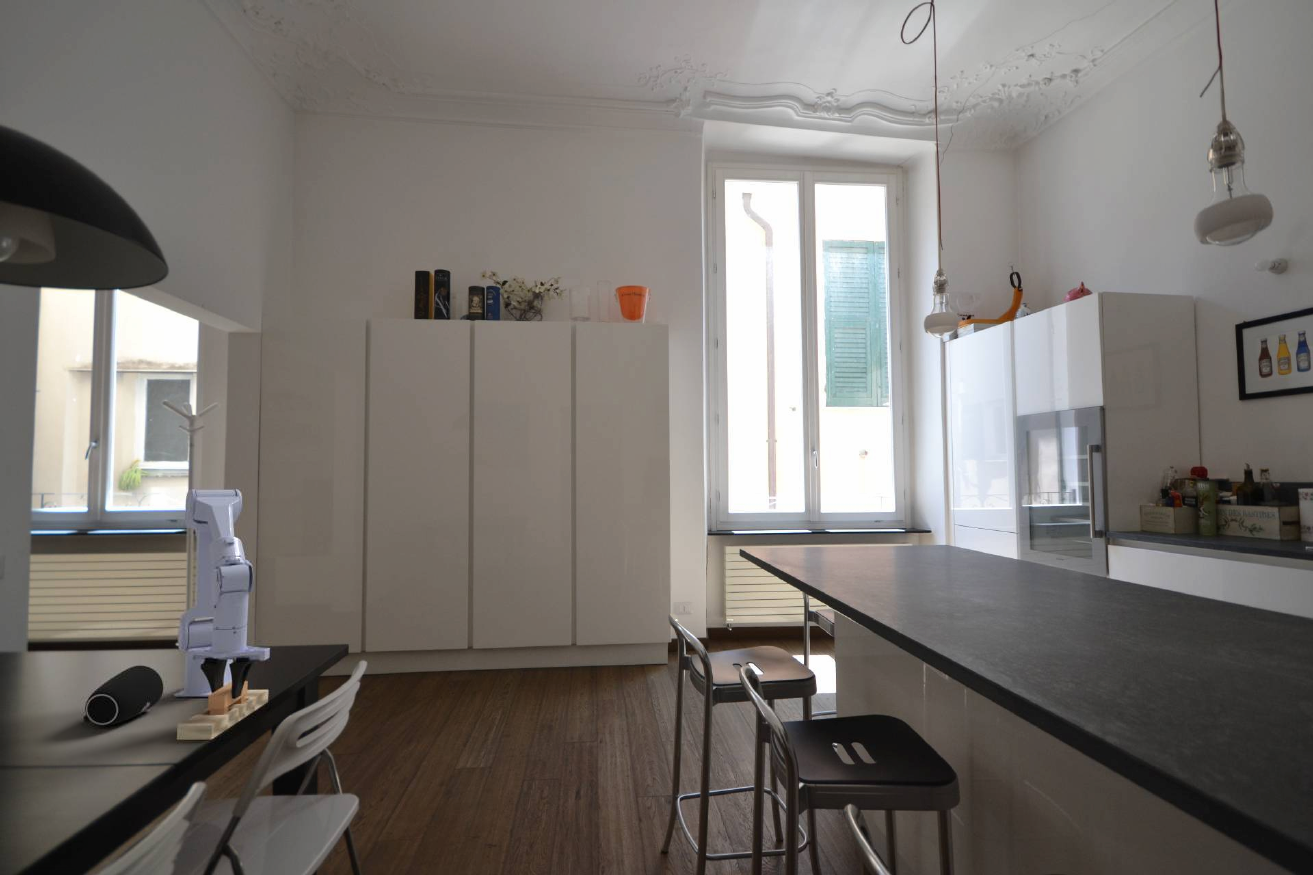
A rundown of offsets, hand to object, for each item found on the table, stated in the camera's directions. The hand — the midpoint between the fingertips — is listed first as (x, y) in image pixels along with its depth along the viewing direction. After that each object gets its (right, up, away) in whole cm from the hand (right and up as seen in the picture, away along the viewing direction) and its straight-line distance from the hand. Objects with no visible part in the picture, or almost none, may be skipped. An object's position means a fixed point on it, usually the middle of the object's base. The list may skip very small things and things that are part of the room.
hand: (226, 697), depth 133 cm
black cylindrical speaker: (-20, -1, -7) cm, 22 cm away
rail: (0, -4, 0) cm, 4 cm away
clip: (0, -4, 0) cm, 4 cm away
